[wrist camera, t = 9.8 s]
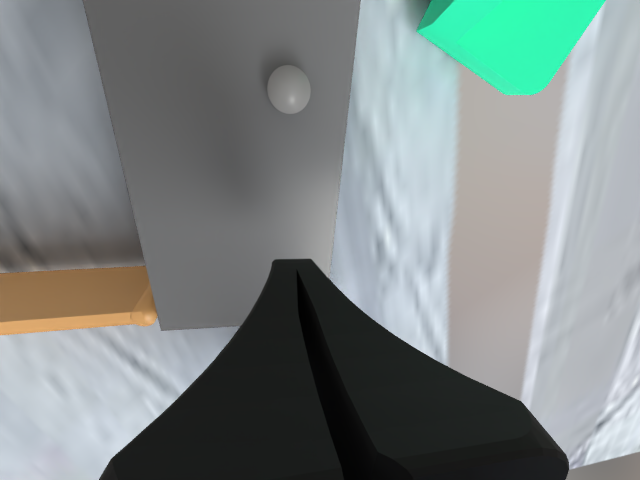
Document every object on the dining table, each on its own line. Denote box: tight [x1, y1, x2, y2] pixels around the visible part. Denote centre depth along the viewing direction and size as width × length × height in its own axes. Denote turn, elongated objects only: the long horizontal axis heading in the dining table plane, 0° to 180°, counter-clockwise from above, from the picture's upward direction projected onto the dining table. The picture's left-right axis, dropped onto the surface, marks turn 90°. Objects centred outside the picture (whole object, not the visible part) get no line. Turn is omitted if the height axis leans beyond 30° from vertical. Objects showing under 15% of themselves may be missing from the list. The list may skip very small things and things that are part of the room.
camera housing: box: [83, 0, 361, 331], centre depth 14 cm, size 17×9×6 cm, turn 175°
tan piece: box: [0, 266, 158, 335], centre depth 16 cm, size 13×2×4 cm, turn 88°
